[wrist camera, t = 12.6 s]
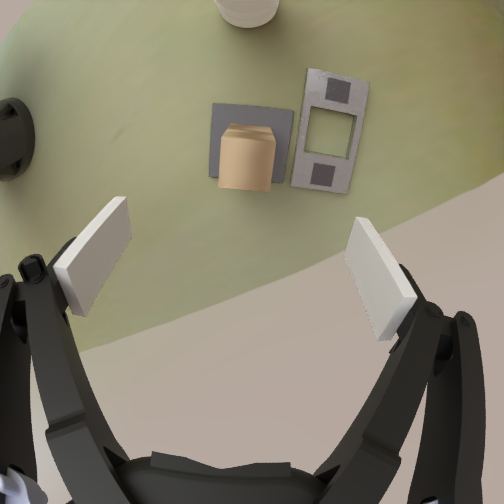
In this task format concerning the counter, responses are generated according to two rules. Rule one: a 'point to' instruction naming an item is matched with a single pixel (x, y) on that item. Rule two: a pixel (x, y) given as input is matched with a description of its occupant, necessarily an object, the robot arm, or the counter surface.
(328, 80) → the plate with rectangular hole
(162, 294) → the counter surface
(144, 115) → the counter surface
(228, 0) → the white bottle
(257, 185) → the peg
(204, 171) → the counter surface
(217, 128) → the mat
